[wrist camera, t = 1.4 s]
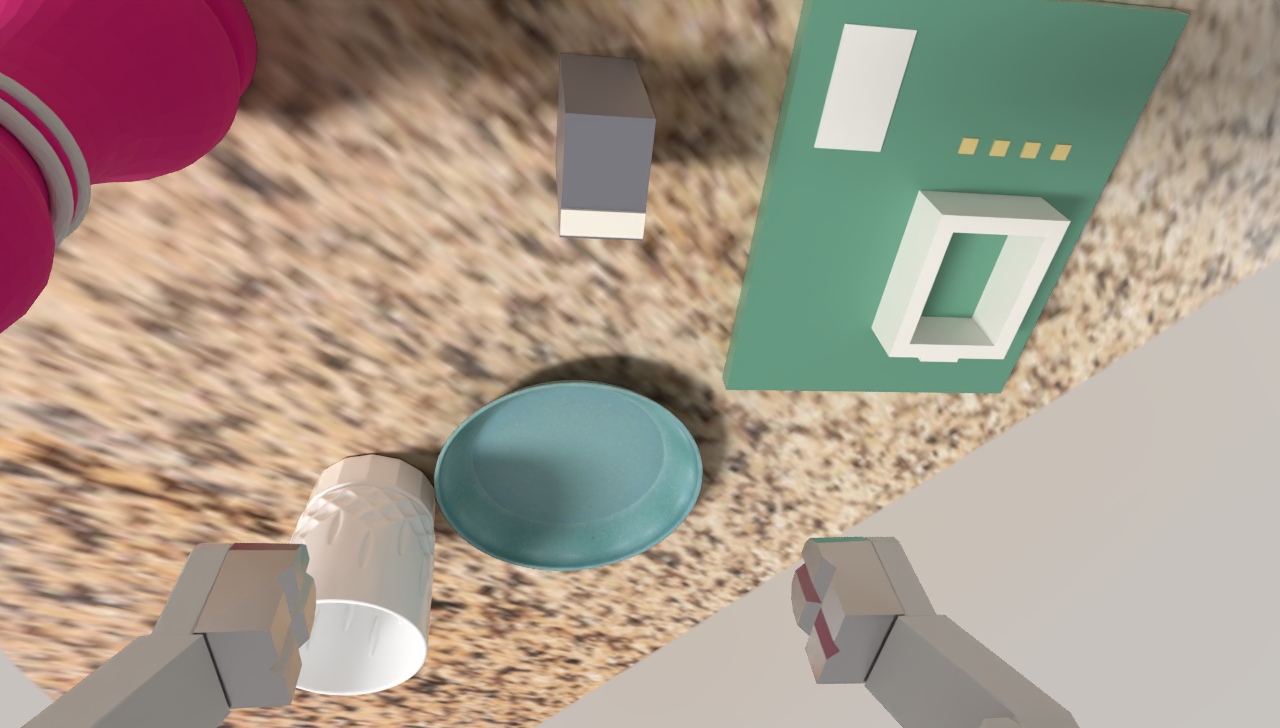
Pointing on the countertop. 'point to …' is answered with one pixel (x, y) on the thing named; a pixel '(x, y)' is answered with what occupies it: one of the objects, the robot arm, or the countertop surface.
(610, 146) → the plug
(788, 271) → the board
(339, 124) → the countertop surface
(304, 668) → the white cup
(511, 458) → the saucer
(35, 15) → the pepper mill
